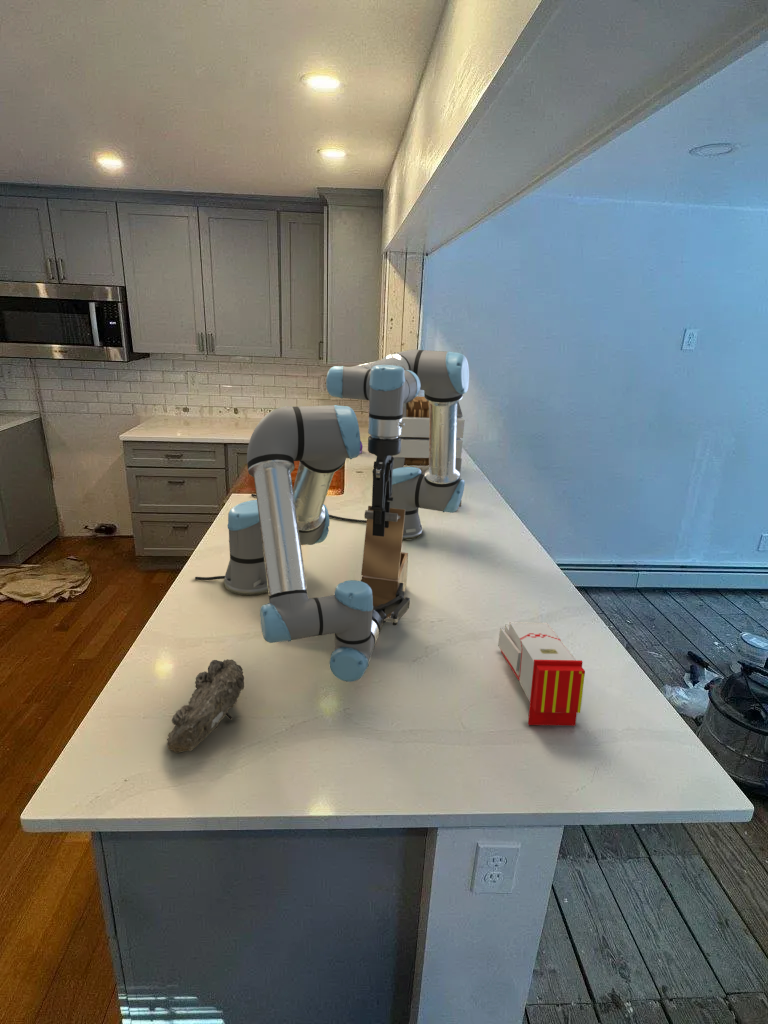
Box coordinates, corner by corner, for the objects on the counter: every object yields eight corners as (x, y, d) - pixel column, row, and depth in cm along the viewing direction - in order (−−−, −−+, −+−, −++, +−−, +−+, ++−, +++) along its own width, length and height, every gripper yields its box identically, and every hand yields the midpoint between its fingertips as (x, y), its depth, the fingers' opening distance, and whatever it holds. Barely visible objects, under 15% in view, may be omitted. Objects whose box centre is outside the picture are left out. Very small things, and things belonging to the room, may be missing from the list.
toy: (544, 607, 134) (594, 667, 105) (539, 659, 137) (586, 732, 108) (493, 606, 134) (529, 666, 105) (489, 658, 137) (523, 731, 107)
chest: (374, 582, 163) (375, 549, 159) (406, 586, 161) (408, 552, 157) (360, 613, 147) (361, 577, 143) (396, 618, 145) (397, 581, 142)
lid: (369, 505, 143) (362, 505, 135) (405, 509, 141) (400, 509, 133) (361, 574, 143) (354, 578, 135) (398, 579, 142) (393, 583, 134)
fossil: (192, 660, 117) (244, 628, 112) (224, 691, 120) (276, 661, 115) (142, 746, 98) (202, 712, 93) (182, 779, 101) (242, 748, 96)
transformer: (382, 463, 289) (386, 382, 275) (445, 464, 293) (451, 384, 279) (390, 482, 257) (394, 392, 243) (460, 483, 261) (468, 394, 247)
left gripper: (315, 637, 130) (341, 592, 151) (410, 650, 126) (423, 603, 147) (315, 608, 127) (341, 566, 148) (412, 621, 124) (425, 577, 144)
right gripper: (394, 446, 119) (389, 547, 127) (407, 429, 136) (402, 519, 144) (359, 443, 121) (356, 543, 129) (376, 427, 137) (373, 516, 145)
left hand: (382, 585), depth 148 cm, fingers closed on chest, 9 cm apart
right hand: (380, 530), depth 136 cm, fingers open, 5 cm apart
